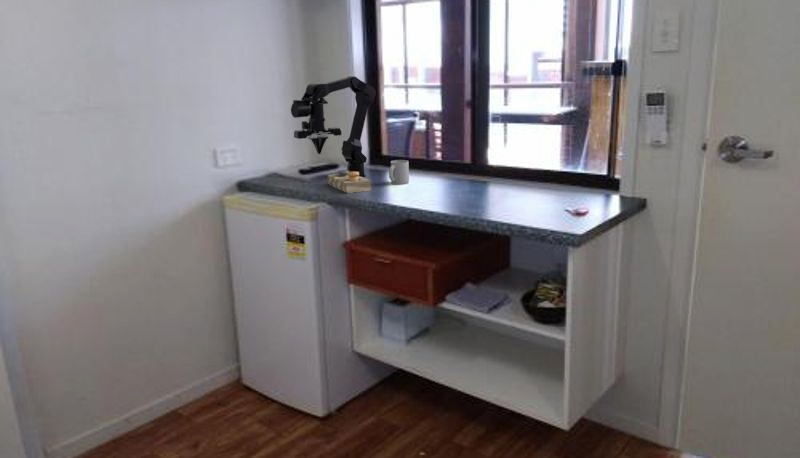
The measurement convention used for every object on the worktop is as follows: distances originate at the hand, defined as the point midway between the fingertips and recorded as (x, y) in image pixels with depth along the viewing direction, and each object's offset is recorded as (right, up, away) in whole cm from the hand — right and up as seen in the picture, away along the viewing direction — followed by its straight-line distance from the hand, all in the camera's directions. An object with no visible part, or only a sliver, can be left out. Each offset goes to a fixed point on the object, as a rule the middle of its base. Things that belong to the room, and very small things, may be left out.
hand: (319, 154), depth 256 cm
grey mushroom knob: (+11, -13, -4) cm, 17 cm away
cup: (+33, -13, -2) cm, 35 cm away
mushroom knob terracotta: (+15, -14, -12) cm, 24 cm away
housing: (+13, -14, -8) cm, 21 cm away
